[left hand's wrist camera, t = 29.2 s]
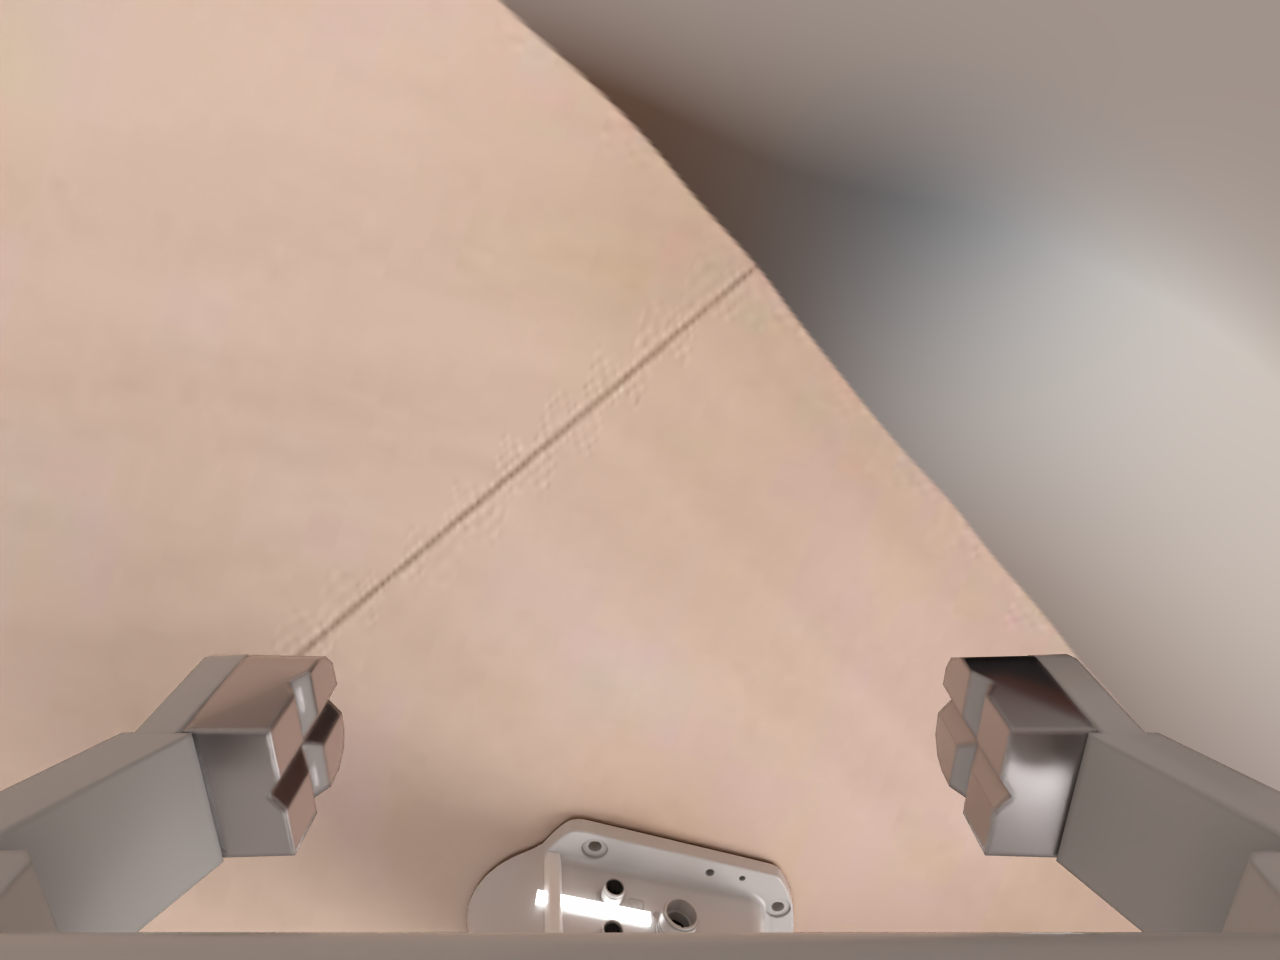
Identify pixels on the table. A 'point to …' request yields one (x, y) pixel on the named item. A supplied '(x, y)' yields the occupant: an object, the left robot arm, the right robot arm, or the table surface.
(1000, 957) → the left robot arm
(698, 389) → the table surface
